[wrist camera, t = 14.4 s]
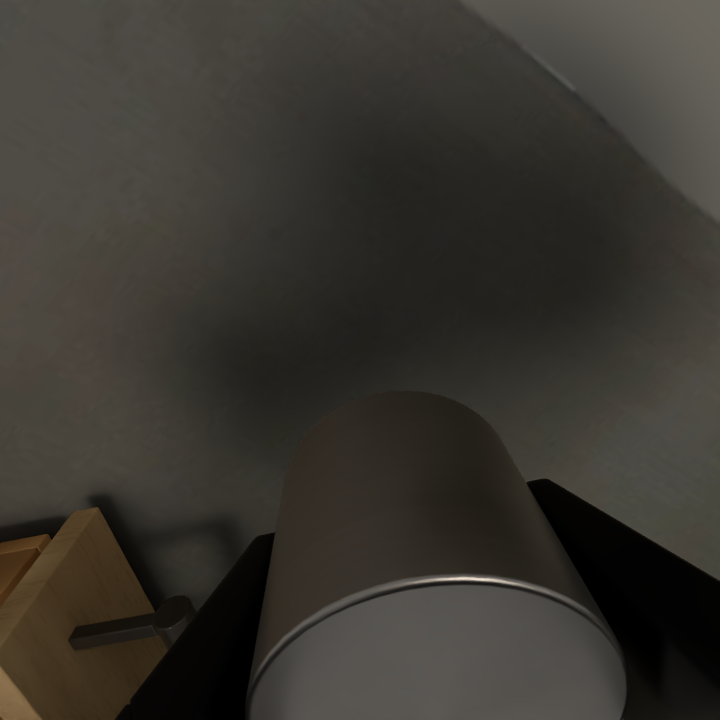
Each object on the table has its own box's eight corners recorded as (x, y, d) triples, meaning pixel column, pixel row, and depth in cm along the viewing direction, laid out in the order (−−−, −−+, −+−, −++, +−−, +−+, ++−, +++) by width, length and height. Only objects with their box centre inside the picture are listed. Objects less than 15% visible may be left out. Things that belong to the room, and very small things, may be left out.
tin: (518, 551, 11) (630, 794, 7) (316, 590, 11) (301, 849, 7) (498, 365, 9) (636, 541, 5) (255, 416, 9) (184, 626, 5)
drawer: (202, 486, 20) (139, 632, 14) (268, 644, 24) (242, 811, 18) (-186, 559, 21) (-409, 728, 15) (-59, 700, 25) (-191, 878, 19)
